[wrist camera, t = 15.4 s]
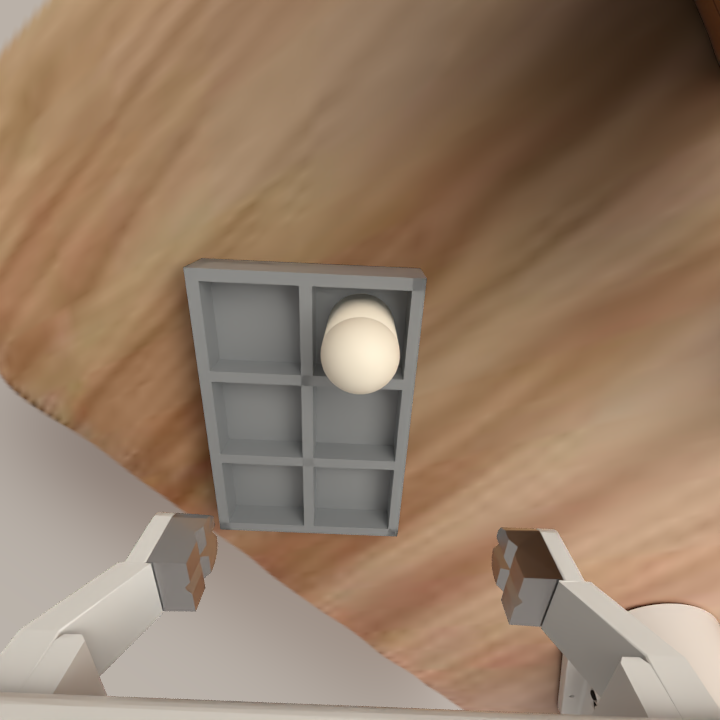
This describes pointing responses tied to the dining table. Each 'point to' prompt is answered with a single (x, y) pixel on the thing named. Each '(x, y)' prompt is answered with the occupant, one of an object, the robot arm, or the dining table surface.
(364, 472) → the egg carton
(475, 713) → the robot arm
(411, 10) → the dining table surface
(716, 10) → the pancake mix bag
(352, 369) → the wooden egg
